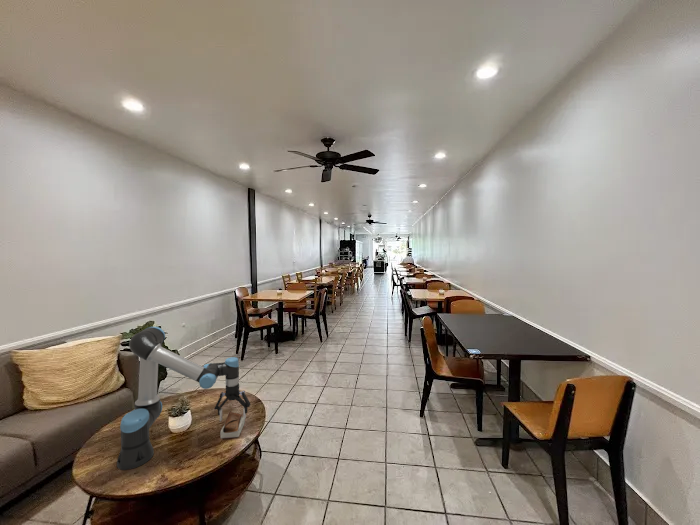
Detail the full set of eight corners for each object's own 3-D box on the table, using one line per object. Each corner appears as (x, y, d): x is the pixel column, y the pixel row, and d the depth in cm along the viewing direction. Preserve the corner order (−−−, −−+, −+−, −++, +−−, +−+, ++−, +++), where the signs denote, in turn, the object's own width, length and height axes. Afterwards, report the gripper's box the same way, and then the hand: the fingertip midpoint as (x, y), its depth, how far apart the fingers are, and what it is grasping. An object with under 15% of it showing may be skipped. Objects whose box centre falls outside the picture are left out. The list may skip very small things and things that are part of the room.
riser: (238, 436, 165) (238, 429, 165) (220, 438, 163) (220, 431, 163) (244, 423, 179) (244, 416, 179) (227, 424, 177) (227, 417, 177)
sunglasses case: (239, 430, 163) (232, 421, 162) (227, 438, 162) (221, 429, 161) (242, 413, 180) (236, 405, 180) (232, 420, 179) (226, 412, 178)
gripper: (255, 380, 176) (255, 414, 176) (212, 382, 173) (213, 417, 173) (252, 385, 168) (253, 421, 169) (208, 388, 165) (208, 424, 166)
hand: (232, 419), depth 171 cm, fingers open, 13 cm apart
